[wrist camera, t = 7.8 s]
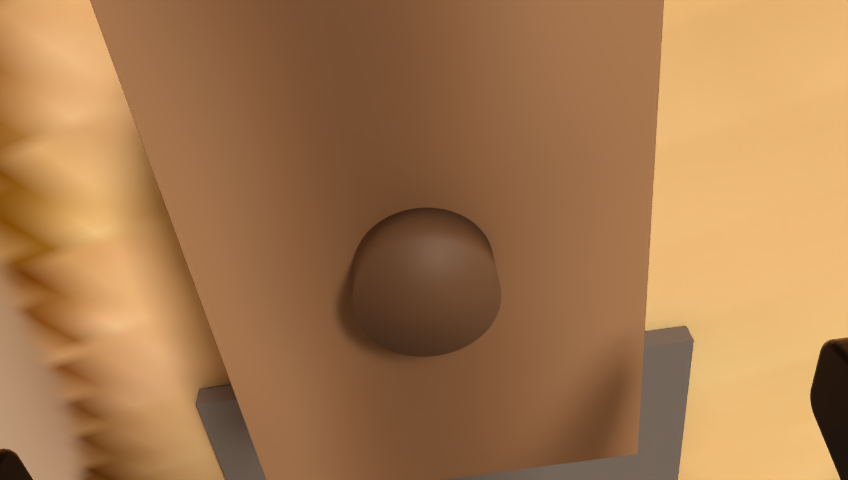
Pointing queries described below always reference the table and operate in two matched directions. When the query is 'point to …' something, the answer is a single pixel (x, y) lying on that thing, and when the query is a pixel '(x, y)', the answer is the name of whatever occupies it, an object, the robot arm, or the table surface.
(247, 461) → the mat
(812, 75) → the table surface
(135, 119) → the lid
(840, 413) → the robot arm
